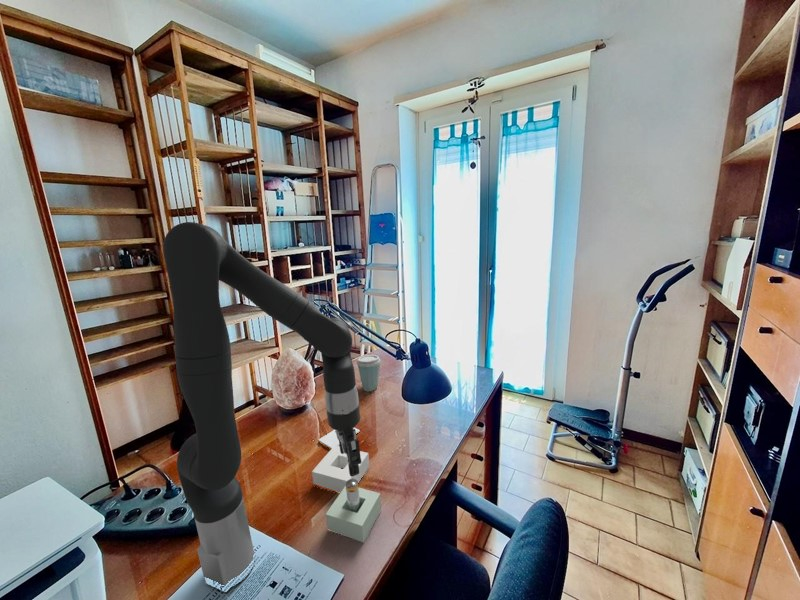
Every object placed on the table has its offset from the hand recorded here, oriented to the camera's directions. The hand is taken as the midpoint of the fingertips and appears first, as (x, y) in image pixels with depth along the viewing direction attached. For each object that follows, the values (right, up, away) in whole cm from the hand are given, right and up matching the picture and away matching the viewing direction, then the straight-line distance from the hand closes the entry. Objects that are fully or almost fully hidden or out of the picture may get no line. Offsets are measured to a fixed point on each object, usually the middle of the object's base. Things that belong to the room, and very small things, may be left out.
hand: (349, 462), depth 82 cm
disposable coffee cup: (-1, 0, +70) cm, 70 cm away
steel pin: (+1, -16, +4) cm, 17 cm away
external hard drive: (-9, -9, +37) cm, 39 cm away
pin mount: (+1, -16, +4) cm, 17 cm away
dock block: (-5, -13, +18) cm, 23 cm away
